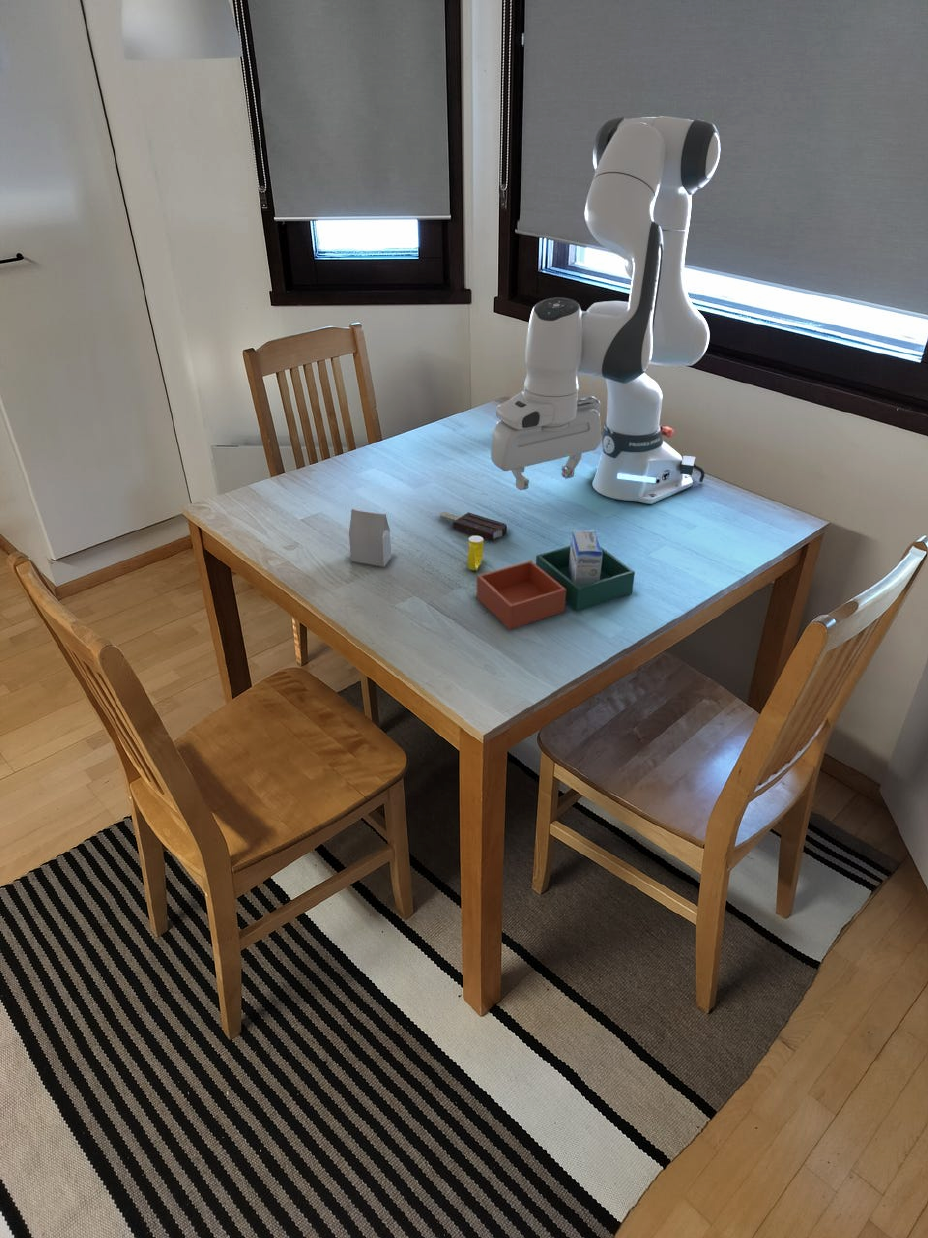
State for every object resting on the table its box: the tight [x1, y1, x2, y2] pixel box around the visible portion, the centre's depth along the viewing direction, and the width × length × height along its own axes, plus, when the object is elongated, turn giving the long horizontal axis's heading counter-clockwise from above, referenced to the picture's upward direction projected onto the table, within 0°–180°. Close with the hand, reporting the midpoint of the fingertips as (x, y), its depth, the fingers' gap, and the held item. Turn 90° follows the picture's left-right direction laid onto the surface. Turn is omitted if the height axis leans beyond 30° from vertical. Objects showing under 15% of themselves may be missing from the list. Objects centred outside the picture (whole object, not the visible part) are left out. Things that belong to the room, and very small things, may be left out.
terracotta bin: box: [476, 560, 566, 630], centre depth 152 cm, size 11×11×5 cm
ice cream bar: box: [439, 511, 508, 542], centre depth 177 cm, size 5×2×15 cm
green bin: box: [535, 545, 636, 612], centre depth 158 cm, size 12×13×5 cm
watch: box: [467, 535, 485, 571], centre depth 162 cm, size 6×3×6 cm, turn 163°
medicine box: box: [568, 529, 603, 587], centre depth 156 cm, size 8×4×9 cm, turn 2°
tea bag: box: [348, 508, 392, 568], centre depth 164 cm, size 4×7×10 cm, turn 72°
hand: (545, 482), depth 150 cm, fingers open, 8 cm apart
